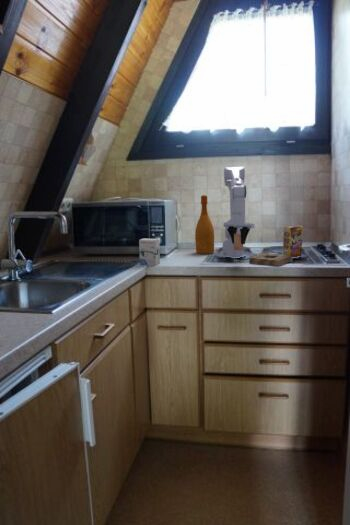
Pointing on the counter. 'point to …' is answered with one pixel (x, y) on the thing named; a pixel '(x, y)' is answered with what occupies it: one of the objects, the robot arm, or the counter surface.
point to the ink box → (149, 251)
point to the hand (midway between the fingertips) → (238, 243)
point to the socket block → (270, 259)
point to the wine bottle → (204, 231)
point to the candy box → (292, 241)
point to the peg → (237, 242)
